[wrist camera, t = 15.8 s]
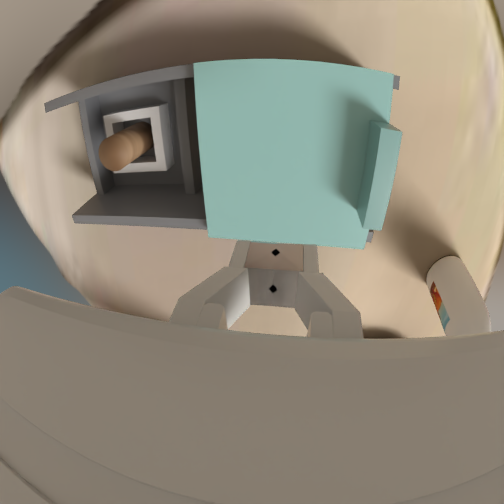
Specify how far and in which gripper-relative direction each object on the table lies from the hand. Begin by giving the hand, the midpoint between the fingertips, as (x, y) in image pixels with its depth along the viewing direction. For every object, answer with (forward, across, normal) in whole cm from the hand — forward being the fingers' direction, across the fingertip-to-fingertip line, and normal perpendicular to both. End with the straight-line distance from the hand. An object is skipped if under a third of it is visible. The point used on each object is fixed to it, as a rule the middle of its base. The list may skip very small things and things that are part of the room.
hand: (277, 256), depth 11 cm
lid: (+14, 0, -1) cm, 14 cm away
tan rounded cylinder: (+22, -18, 0) cm, 29 cm away
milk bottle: (+24, +27, -20) cm, 41 cm away
